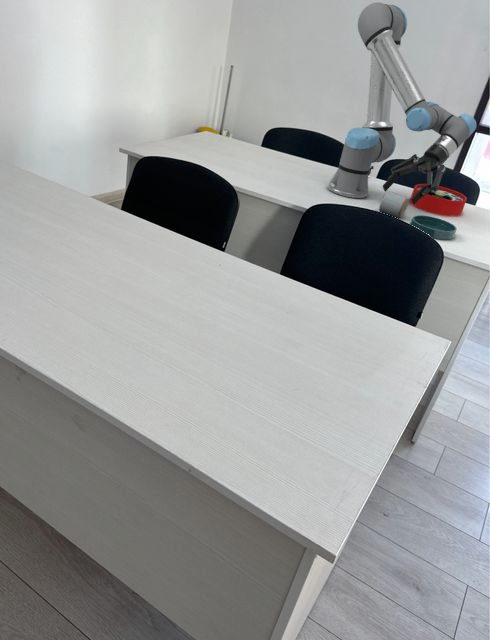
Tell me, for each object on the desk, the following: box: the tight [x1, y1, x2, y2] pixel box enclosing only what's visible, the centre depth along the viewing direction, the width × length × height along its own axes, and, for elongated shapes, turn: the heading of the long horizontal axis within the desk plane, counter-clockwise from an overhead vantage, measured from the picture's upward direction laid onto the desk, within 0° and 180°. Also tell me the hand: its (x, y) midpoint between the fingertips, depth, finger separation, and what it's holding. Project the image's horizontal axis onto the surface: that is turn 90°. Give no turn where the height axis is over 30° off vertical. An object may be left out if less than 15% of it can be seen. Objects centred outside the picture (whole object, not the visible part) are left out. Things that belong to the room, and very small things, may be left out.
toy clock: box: [409, 183, 468, 217], centre depth 226 cm, size 20×6×20 cm
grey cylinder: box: [378, 190, 409, 218], centre depth 209 cm, size 11×8×8 cm
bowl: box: [409, 214, 458, 241], centre depth 199 cm, size 15×15×3 cm
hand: (398, 195), depth 206 cm, fingers open, 13 cm apart
